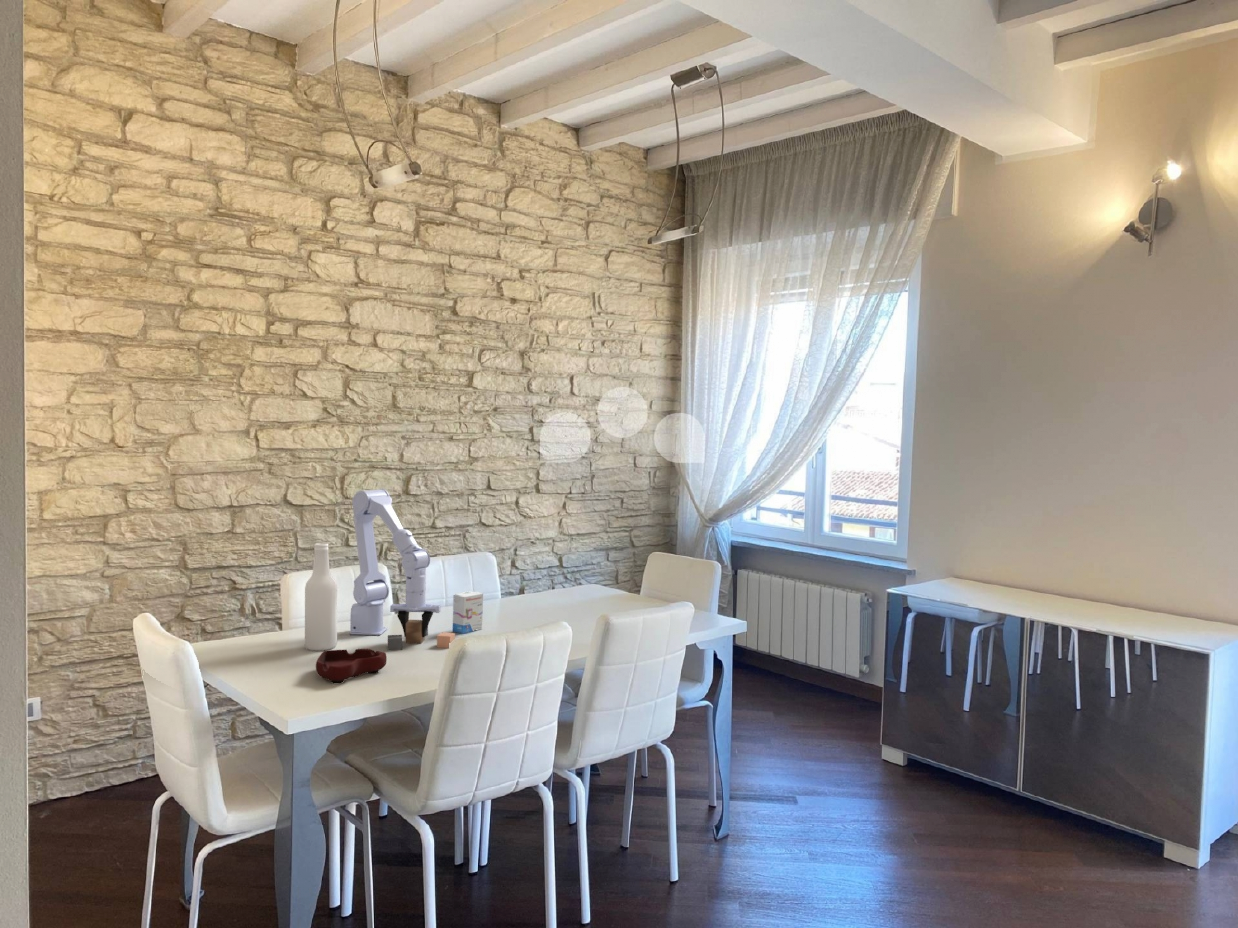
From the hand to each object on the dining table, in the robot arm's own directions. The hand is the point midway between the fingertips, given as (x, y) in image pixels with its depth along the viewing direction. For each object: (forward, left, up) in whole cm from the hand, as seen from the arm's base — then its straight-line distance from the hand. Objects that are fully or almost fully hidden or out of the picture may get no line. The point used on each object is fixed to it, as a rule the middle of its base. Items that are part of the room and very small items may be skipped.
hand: (415, 636), depth 264 cm
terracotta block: (+10, -4, -2) cm, 11 cm away
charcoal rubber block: (-4, -8, -2) cm, 9 cm away
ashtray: (-10, -34, -2) cm, 35 cm away
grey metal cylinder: (0, +8, -2) cm, 8 cm away
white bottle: (-25, -9, -2) cm, 27 cm away
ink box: (+13, +15, -2) cm, 20 cm away
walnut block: (0, 0, -2) cm, 2 cm away
